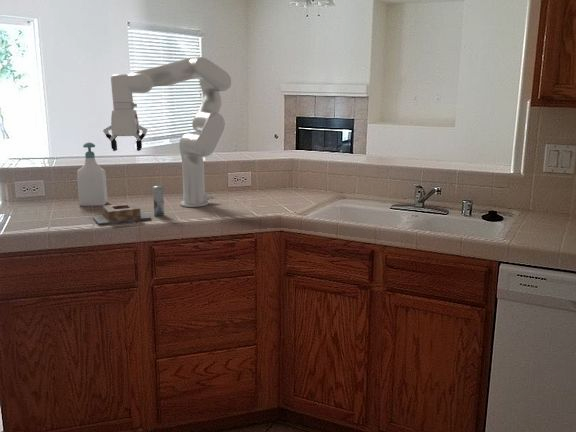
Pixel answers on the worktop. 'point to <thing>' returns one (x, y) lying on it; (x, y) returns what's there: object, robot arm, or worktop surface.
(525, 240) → the worktop surface
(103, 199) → the soap bottle
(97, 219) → the docking mount
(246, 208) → the worktop surface
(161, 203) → the grey metallic cylinder
